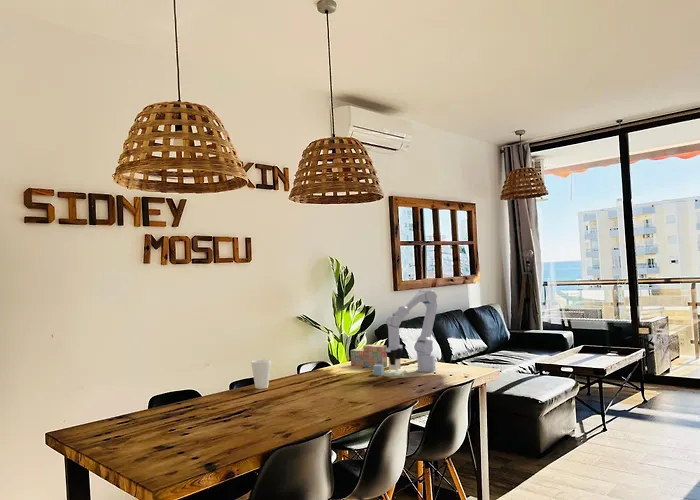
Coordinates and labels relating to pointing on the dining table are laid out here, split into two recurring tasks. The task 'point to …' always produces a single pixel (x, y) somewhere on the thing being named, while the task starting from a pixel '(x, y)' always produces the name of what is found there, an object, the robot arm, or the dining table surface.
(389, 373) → the build plate
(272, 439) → the dining table surface
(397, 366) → the brick cream
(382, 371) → the brick blue
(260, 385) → the foam cup
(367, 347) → the stack of blocks
